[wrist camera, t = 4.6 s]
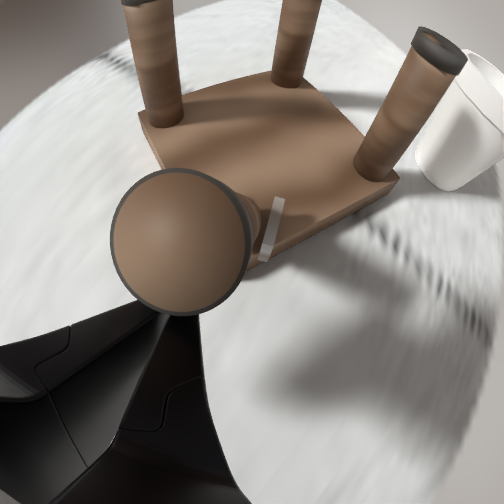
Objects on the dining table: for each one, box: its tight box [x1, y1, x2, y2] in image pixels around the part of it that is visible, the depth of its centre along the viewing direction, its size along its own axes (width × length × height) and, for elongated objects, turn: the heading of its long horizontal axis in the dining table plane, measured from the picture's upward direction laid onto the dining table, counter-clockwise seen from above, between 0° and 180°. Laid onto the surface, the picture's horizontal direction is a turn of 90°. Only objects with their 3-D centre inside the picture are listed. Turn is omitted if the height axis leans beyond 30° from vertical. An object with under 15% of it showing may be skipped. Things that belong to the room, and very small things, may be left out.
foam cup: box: [415, 49, 504, 192], centre depth 19 cm, size 10×9×13 cm
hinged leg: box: [110, 168, 262, 316], centre depth 11 cm, size 3×3×11 cm
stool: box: [121, 0, 468, 272], centre depth 16 cm, size 17×17×15 cm
